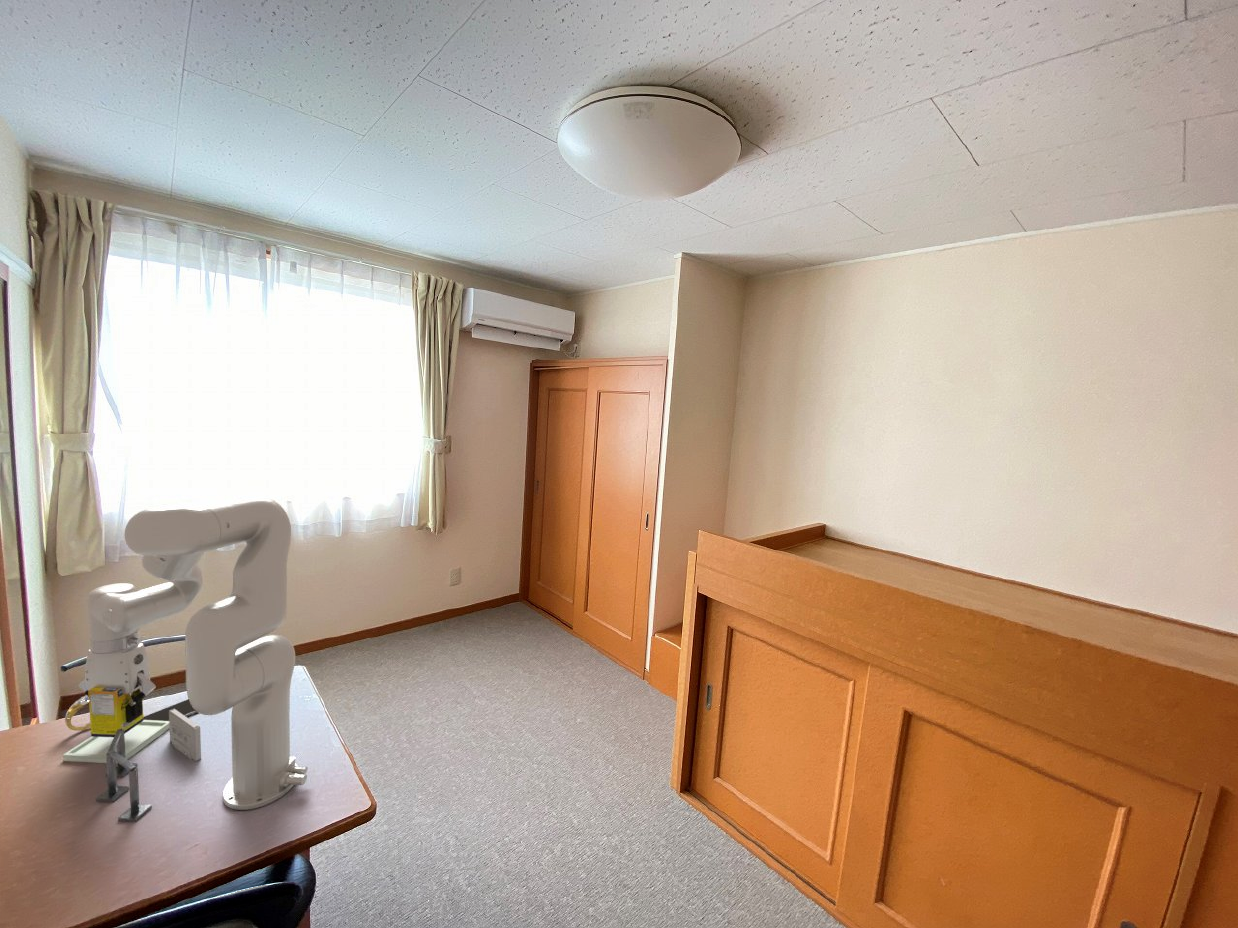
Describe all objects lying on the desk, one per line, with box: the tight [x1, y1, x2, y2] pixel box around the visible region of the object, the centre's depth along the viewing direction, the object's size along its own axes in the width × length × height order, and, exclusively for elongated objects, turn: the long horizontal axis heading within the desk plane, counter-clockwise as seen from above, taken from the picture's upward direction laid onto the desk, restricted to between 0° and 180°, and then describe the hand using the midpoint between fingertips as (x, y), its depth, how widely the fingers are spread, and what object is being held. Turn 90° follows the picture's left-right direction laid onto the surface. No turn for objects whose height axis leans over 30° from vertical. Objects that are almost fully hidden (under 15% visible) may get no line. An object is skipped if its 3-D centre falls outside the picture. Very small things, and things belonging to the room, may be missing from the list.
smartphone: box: [143, 699, 199, 721], centre depth 120 cm, size 7×1×16 cm
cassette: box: [169, 709, 202, 762], centre depth 109 cm, size 12×2×8 cm, turn 63°
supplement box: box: [88, 687, 144, 737], centre depth 108 cm, size 6×6×11 cm
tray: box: [62, 720, 170, 765], centre depth 109 cm, size 12×12×1 cm
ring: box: [64, 694, 91, 731], centre depth 113 cm, size 7×3×8 cm, turn 148°
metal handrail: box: [95, 729, 153, 823], centre depth 96 cm, size 20×7×10 cm, turn 52°
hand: (118, 716), depth 109 cm, fingers closed on supplement box, 6 cm apart
